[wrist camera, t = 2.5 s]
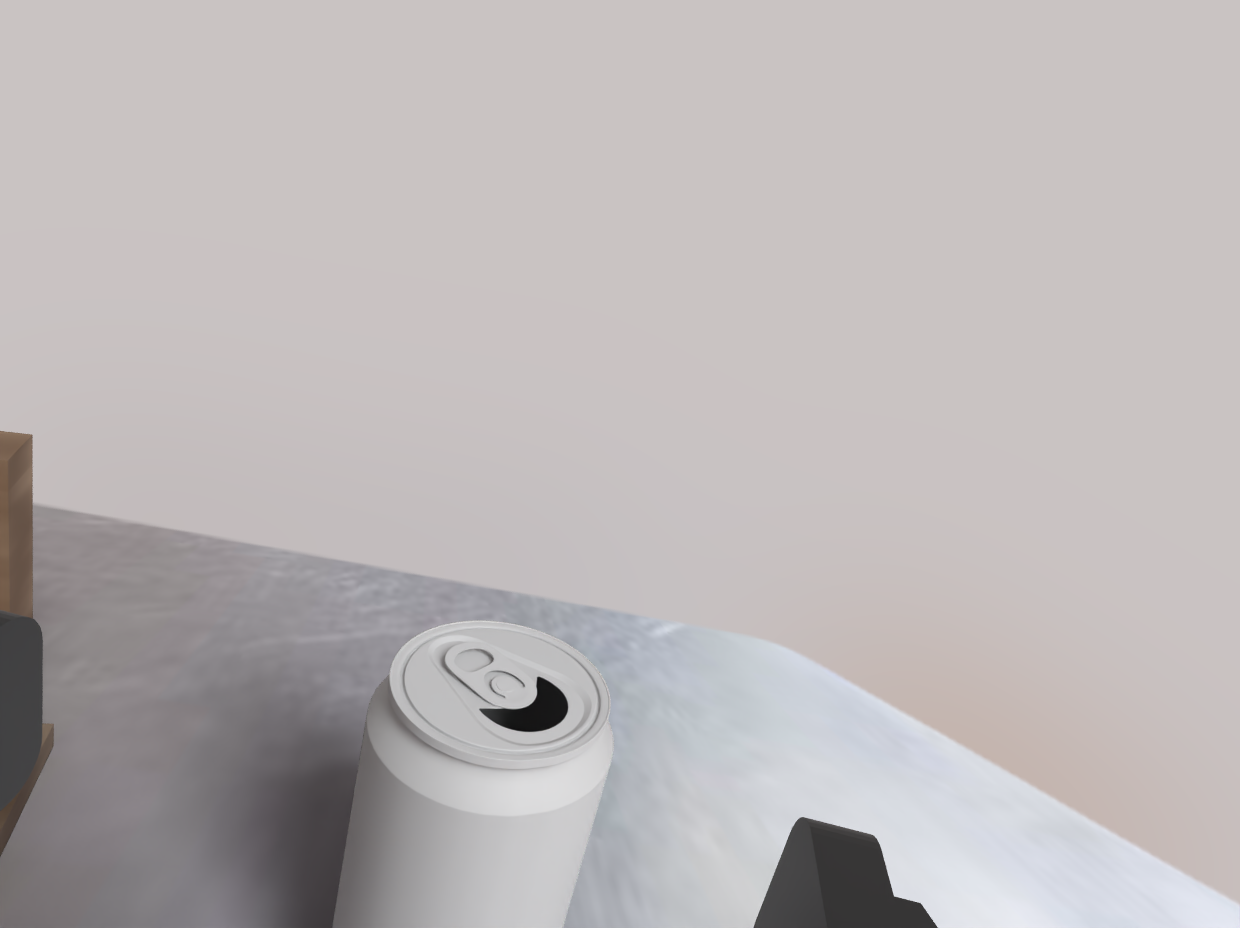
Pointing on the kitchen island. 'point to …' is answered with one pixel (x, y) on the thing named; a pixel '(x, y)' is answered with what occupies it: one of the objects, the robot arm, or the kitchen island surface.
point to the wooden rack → (18, 579)
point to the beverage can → (476, 782)
